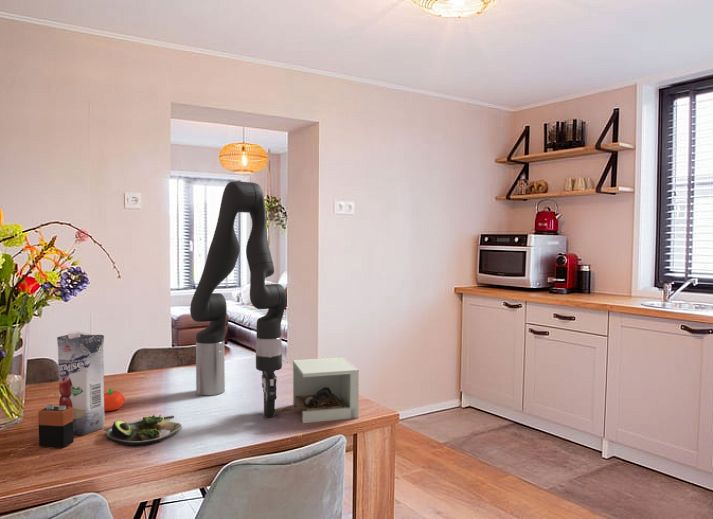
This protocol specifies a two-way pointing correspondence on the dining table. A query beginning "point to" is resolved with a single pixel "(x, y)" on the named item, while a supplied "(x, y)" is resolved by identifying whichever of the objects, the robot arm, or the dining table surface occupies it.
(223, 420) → the dining table surface
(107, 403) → the tomato
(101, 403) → the juice carton
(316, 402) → the eagle figurine
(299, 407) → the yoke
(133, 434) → the salad plate
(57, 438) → the battery
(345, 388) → the cubby
